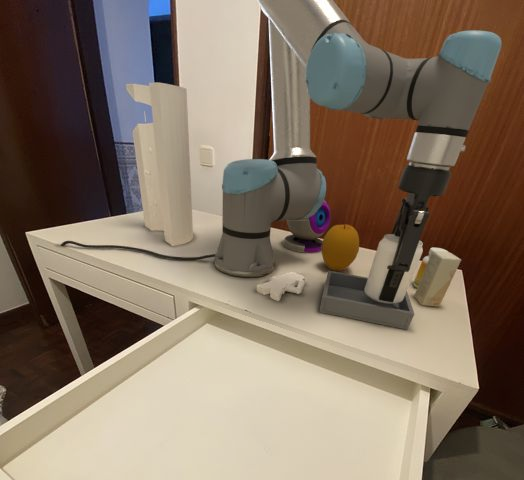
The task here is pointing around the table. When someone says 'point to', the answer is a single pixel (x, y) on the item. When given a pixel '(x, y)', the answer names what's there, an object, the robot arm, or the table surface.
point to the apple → (340, 247)
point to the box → (436, 278)
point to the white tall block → (164, 161)
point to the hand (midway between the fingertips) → (384, 291)
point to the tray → (362, 302)
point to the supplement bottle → (423, 265)
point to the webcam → (308, 231)
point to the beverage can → (380, 270)
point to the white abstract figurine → (282, 285)
